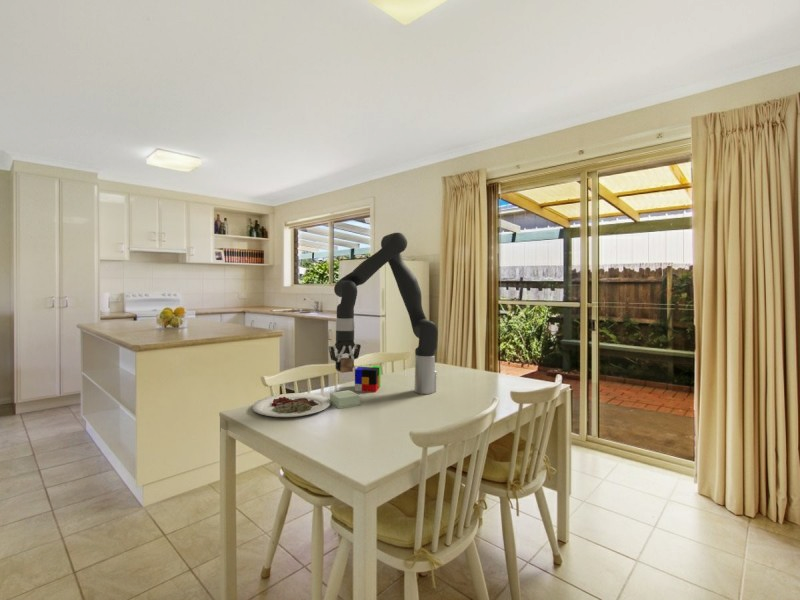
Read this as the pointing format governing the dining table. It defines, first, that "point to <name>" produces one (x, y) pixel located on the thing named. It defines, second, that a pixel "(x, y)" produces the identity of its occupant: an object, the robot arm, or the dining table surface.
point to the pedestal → (344, 399)
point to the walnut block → (346, 365)
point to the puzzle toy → (367, 378)
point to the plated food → (291, 405)
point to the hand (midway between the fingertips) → (344, 369)
